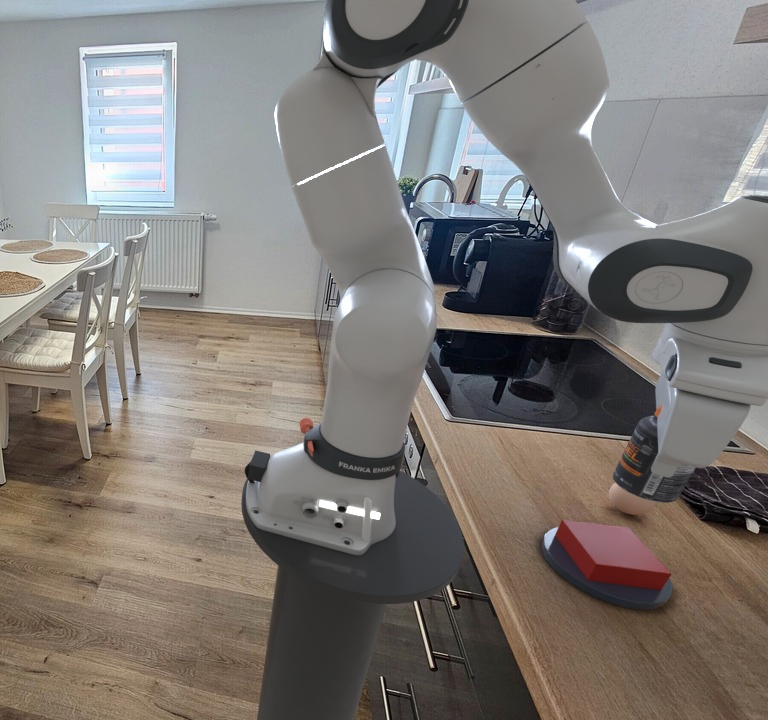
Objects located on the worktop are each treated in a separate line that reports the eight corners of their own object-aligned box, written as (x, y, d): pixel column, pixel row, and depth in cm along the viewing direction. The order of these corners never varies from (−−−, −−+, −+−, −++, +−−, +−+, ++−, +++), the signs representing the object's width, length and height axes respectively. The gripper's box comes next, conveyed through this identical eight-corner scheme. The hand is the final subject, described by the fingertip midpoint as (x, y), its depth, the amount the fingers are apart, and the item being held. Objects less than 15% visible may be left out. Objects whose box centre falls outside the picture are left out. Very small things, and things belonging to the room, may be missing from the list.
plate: (572, 600, 63) (576, 593, 63) (523, 526, 74) (526, 520, 74) (697, 618, 60) (701, 611, 60) (626, 538, 72) (629, 532, 71)
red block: (587, 580, 64) (596, 564, 63) (554, 535, 71) (561, 519, 70) (661, 590, 62) (672, 573, 61) (620, 543, 69) (629, 527, 68)
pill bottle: (604, 468, 65) (639, 393, 60) (664, 479, 63) (706, 402, 58) (621, 496, 60) (661, 417, 55) (687, 510, 58) (735, 429, 53)
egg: (609, 516, 76) (625, 486, 73) (598, 496, 80) (612, 466, 77) (654, 526, 74) (671, 495, 71) (639, 504, 78) (655, 474, 75)
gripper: (669, 319, 62) (625, 413, 68) (676, 379, 49) (621, 489, 55) (745, 331, 58) (691, 429, 64) (775, 399, 45) (704, 515, 51)
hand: (659, 457), depth 59 cm, fingers closed on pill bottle, 6 cm apart
